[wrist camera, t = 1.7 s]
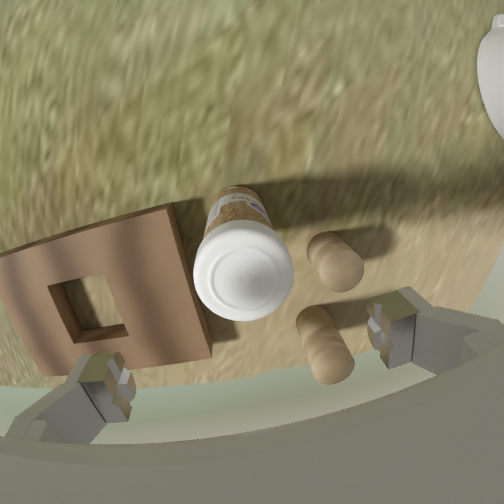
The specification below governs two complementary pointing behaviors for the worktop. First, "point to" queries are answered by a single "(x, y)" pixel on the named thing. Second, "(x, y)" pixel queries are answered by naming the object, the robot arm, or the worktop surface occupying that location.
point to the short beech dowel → (335, 262)
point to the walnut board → (121, 286)
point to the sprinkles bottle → (241, 259)
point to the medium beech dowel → (324, 346)
